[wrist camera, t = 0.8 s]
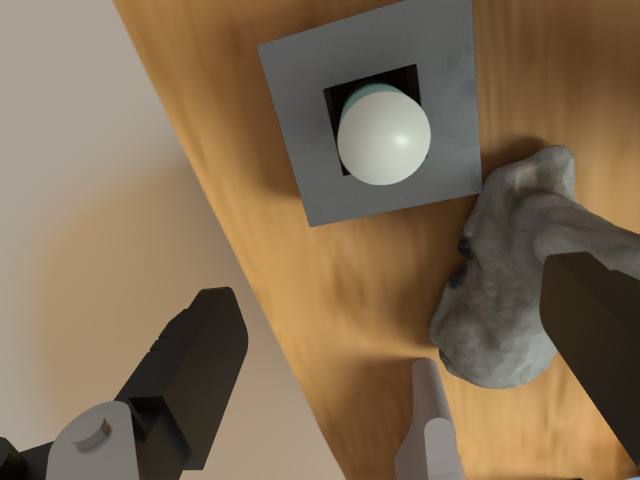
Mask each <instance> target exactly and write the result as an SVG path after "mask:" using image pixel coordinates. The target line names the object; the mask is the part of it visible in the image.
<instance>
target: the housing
mask: <svg viewBox="0 0 640 480" xmlns="http://www.w3.org/2000/svg"><path fill="white" fill-rule="evenodd" d="M256 47H257V51H258V54H259V57H260V61H261V64H262V67H263V71H264V74H265V78H266V81H267V84H268V88H269V91H270V94H271V98H272V101H273V105H274V108H275V111H276V115H277V118H278V122H279V125H280V128H281V132H282V135H283V138H284V142H285V145H286V149H287V152H288V155H289V159H290V162H291V165H292V169H293V172H294V176H295V179H296V182H297V186H298V189H299V193H300V196H301V199H302V203H303V206H304V209H305V213H306V216H307V220H308V223H309V226H310V227H315V226H320V225H325V224H330V223H335V222H340V221H344V220H349V219H354V218H359V217H364V216H369V215H374V214H379V213H384V212H389V211H394V210H399V209H404V208H409V207H414V206H419V205H424V204H429V203H434V202H439V201H444V200H449V199H454V198H459V197H464V196H469V195H474V194H479V193H482V176H481V157H480V139H479V121H478V103H477V85H476V67H475V49H474V31H473V12H472V0H404V1H400V2H397V3H394V4H390V5H387V6H384V7H381V8H377V9H374V10H371V11H368V12H364V13H361V14H358V15H355V16H351V17H348V18H345V19H342V20H338V21H335V22H332V23H329V24H325V25H322V26H319V27H316V28H312V29H309V30H306V31H303V32H299V33H296V34H293V35H289V36H286V37H283V38H280V39H276V40H273V41H270V42H267V43H263V44H260V45H257V46H256ZM401 67H406V75H407V82H408V90H409V97H410V98H411V99H412V100H414V101H415V102H416V103H417V104H418V105H419V106H420V107H421V108H422V110H423V111H424V113H425V115H426V117H427V119H428V122H429V125H430V133H431V138H430V145H429V149H428V152H427V155H426V157H425V159H424V161H423V162H422V164H421V165H420V166H419V167H418V169H417V170H416V171H415V172H414V173H412V174H411V175H410V176H408V177H407V178H405V179H403V180H402V181H399V182H397V183H393V184H389V185H373V184H369V183H366V182H363V181H361V180H359V179H358V178H356V177H355V176H353V175H352V174H351V173H350V172H349V171H348V170H347V168H346V167H345V166H344V164H343V162H342V160H341V158H340V155H339V151H338V128H337V123H336V119H335V115H334V110H333V106H332V101H331V97H330V92H329V88H328V87H332V86H335V85H339V84H343V83H346V82H350V81H354V80H357V79H361V78H365V77H368V76H372V75H376V74H379V73H383V72H387V71H390V70H394V69H398V68H401Z"/></svg>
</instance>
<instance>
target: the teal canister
mask: <svg viewBox="0 0 640 480" xmlns="http://www.w3.org/2000/svg"><path fill="white" fill-rule="evenodd" d="M430 138H431V133H430V125H429V122H428V119H427V117H426V115H425V113H424V111H423V110H422V108H421V107H420V106H419V105H418V104H417V103H416V102H415V101H414V100H412V99H411V98H410V97H408V96H407V95H405V94H404V93H403V92H401V91H400V90H398V89H397V88H396V87H394V86H393V85H391V84H390V83H388V82H386V81H383V80H379V79H370V80H366V81H363V82H361V83H359V84H357V85H356V86H355V87H353V88H352V89H351V91H350V92H349V93H348V94H347V96H346V98H345V100H344V103H343V107H342V113H341V119H340V125H339V131H338V151H339V155H340V158H341V160H342V162H343V164H344V166H345V167H346V168H347V170H348V171H349V172H350V173H351V174H352V175H353V176H355V177H356V178H358V179H359V180H361V181H363V182H366V183H369V184H373V185H389V184H393V183H397V182H399V181H402V180H403V179H405V178H407V177H408V176H410V175H411V174H412V173H414V172H415V171H416V170H417V169H418V167H419V166H420V165H421V164H422V162H423V161H424V159H425V157H426V155H427V152H428V149H429V145H430Z"/></svg>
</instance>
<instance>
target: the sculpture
mask: <svg viewBox="0 0 640 480" xmlns="http://www.w3.org/2000/svg"><path fill="white" fill-rule="evenodd" d="M574 185H575V156H574V154H573V153H572V152H571V151H570V149H568V148H567V147H566V146H564V145H552V146H547V147H545V148H543V149H541V150H539V151H538V152H536V153H535V154H534V155H532V156H530V157H528V158H527V159H524V160H521V161H517V162H514V163H510V164H507V165H504V166H501V167H498V168H497V169H495V170H494V171H492V172H491V173H490V174H489V175H488V177H487V178H486V180H485V182H484V183H483V186H482V193H479V196H478V198H477V201H476V204H475V207H474V209H473V210H472V212H471V214H470V216H469V218H468V220H467V221H466V223H465V225H464V227H463V233H462V237H461V240H460V243H459V245H458V251H459V253H460V254H462V255H464V256H465V257H466V260H465V263H464V264H463V265H462V267H461V268H460V269H458V271H457V272H456V273H455V274H454V275H453V276H452V277H451V278H450V279H449V280H448V282H447V284H446V286H445V287H444V290H443V294H442V297H441V301H440V303H439V305H438V306H437V308H436V310H435V312H434V314H433V317H432V319H431V321H430V323H429V327H428V337H429V339H430V341H431V342H432V343H433V344H434V345H435V346H436V347H438V348H439V356H440V359H441V360H442V362H443V363H444V365H445V367H446V370H447V371H448V372H449V373H451V374H452V375H454V376H456V377H459V378H461V379H464V380H466V381H468V382H470V383H472V384H474V385H476V386H479V387H483V388H489V389H509V388H515V387H518V386H521V385H523V384H525V383H527V382H529V381H532V380H534V379H535V378H536V377H538V376H539V375H540V373H541V372H542V371H544V370H546V369H547V368H548V367H549V366H550V364H551V359H552V357H553V356H554V355H555V354H556V353H557V351H558V350H557V349H556V347H555V346H554V344H553V343H552V341H551V340H550V338H549V337H548V335H547V334H546V332H545V330H544V328H543V326H542V323H541V319H540V314H539V304H540V295H541V286H542V278H543V269H544V262H545V259H546V257H547V256H548V255H551V254H560V253H570V252H580V251H587V252H589V253H590V254H592V255H593V256H594V257H595V258H596V259H598V260H599V261H600V262H601V263H602V264H604V265H605V266H606V267H607V268H608V269H609V270H618V271H621V272H623V273H625V274H627V275H629V276H632V277H634V278H636V279H638V280H640V234H636V233H634V232H631V231H628V230H626V229H623V228H620V227H618V226H615V225H614V224H612V223H610V222H609V221H607V220H605V219H603V218H602V217H600V216H598V215H595V214H593V213H591V212H589V211H588V210H587V209H586V208H585V207H583V206H582V205H581V204H578V203H577V201H576V199H575V193H574Z"/></svg>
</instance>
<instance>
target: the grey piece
mask: <svg viewBox="0 0 640 480" xmlns="http://www.w3.org/2000/svg"><path fill="white" fill-rule="evenodd" d="M412 390H413V418H412V423H411V426H410V429H409V431H408V433H407V435H406V437H405V439H404V440H403V442H402V444H401V446H400V447H399V449H398V451H397V453H396V455H395V457H394V467H395V477H396V480H466V477H465V473H464V470H463V466H462V462H461V459H460V456H459V454H458V453H457V443H456V431H455V427H454V423H453V420H452V416H451V413H450V409H449V405H448V402H447V398H446V395H445V391H444V388H443V384H442V380H441V377H440V373H439V370H438V366H437V363H436V362H435V361H434V360H432V359H430V358H420V359H417V360H416V361H414V362H413V364H412Z"/></svg>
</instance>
